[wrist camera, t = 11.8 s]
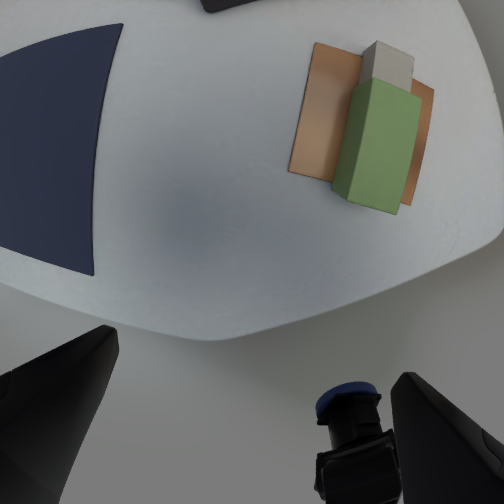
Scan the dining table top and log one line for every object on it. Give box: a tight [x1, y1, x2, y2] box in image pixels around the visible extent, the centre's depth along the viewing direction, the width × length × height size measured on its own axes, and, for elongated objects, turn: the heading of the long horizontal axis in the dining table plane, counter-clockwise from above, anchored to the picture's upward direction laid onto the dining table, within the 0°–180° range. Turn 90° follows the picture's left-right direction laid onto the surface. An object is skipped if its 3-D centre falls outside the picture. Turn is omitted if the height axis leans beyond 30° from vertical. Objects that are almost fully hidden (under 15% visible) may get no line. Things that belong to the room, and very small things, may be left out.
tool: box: [331, 41, 422, 215], centre depth 13 cm, size 10×3×4 cm, turn 169°
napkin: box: [0, 23, 123, 276], centre depth 16 cm, size 20×22×1 cm
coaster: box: [288, 42, 434, 206], centre depth 15 cm, size 9×9×1 cm
